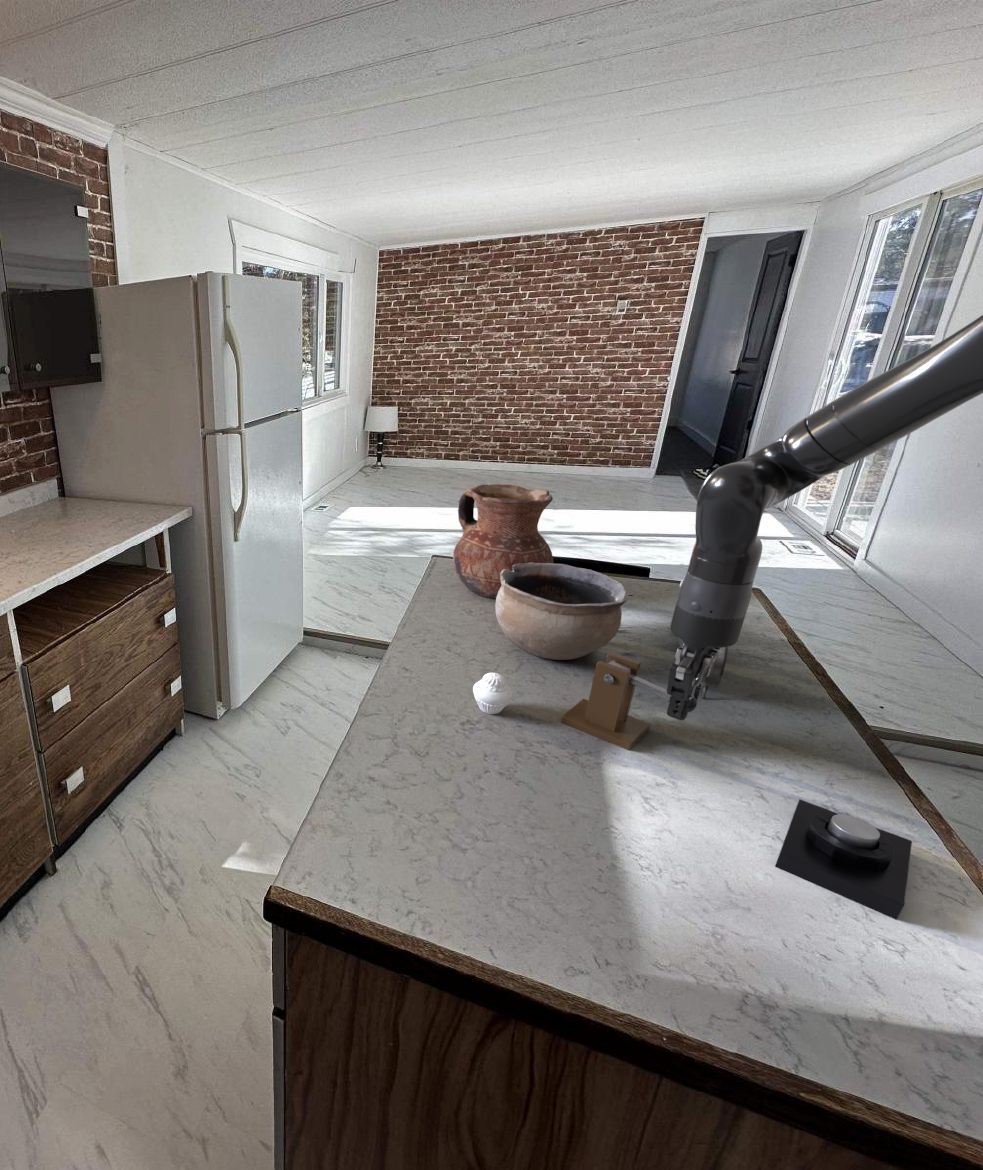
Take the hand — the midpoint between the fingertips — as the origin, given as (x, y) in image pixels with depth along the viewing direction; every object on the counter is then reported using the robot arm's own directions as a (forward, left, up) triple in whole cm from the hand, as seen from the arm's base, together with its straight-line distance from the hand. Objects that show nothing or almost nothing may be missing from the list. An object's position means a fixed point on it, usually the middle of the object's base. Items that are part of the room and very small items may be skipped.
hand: (680, 711), depth 91 cm
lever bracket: (+8, -5, -7) cm, 11 cm away
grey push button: (-13, +18, -4) cm, 22 cm away
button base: (-13, +18, -7) cm, 23 cm away
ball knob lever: (+4, -2, +1) cm, 5 cm away
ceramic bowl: (+13, -31, -7) cm, 34 cm away
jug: (+21, -61, -7) cm, 65 cm away
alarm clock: (-9, -23, -7) cm, 26 cm away
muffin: (+25, -5, -7) cm, 26 cm away
